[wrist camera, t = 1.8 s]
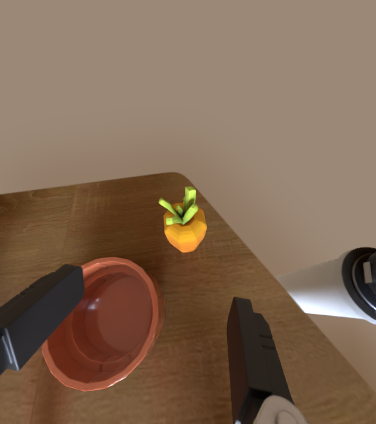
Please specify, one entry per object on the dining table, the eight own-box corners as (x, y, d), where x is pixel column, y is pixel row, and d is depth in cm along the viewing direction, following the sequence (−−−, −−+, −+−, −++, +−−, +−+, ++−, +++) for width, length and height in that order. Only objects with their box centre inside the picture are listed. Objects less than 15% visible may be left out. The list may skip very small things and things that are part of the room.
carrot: (180, 268, 28) (170, 237, 14) (166, 241, 30) (144, 191, 16) (208, 252, 29) (223, 208, 15) (192, 226, 31) (192, 168, 17)
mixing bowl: (163, 261, 28) (155, 251, 22) (168, 359, 23) (161, 380, 17) (83, 271, 28) (54, 263, 22) (69, 374, 22) (26, 400, 16)
